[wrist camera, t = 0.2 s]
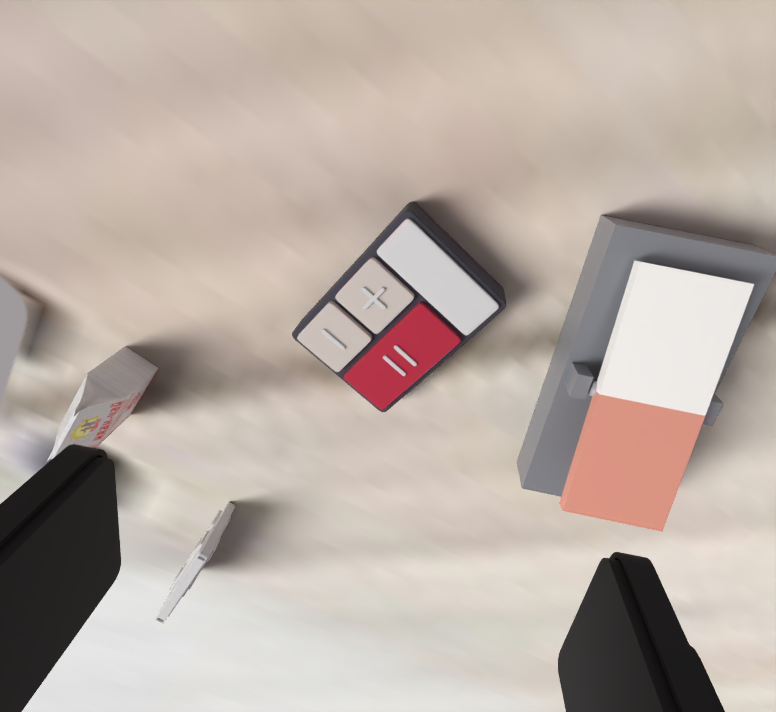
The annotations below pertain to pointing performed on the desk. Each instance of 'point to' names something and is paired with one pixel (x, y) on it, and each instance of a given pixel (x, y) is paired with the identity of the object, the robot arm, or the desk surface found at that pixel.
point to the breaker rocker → (652, 393)
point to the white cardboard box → (104, 400)
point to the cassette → (196, 561)
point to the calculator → (400, 309)
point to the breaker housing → (596, 322)
